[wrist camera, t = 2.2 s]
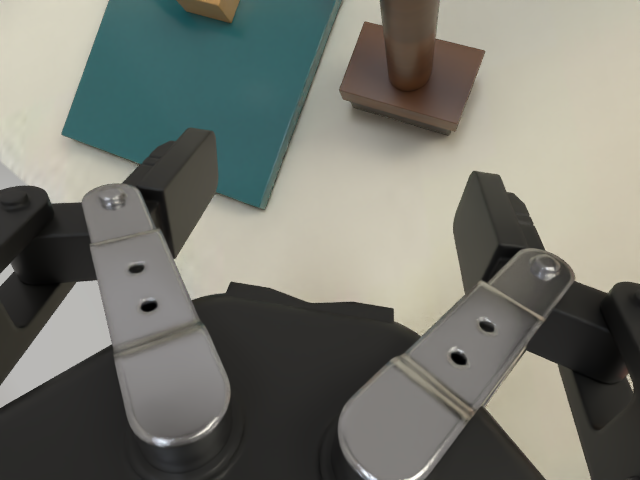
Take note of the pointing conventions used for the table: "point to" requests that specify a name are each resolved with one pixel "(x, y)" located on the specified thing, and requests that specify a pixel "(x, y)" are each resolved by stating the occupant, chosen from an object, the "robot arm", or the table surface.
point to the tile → (203, 83)
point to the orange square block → (211, 8)
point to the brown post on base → (410, 68)
